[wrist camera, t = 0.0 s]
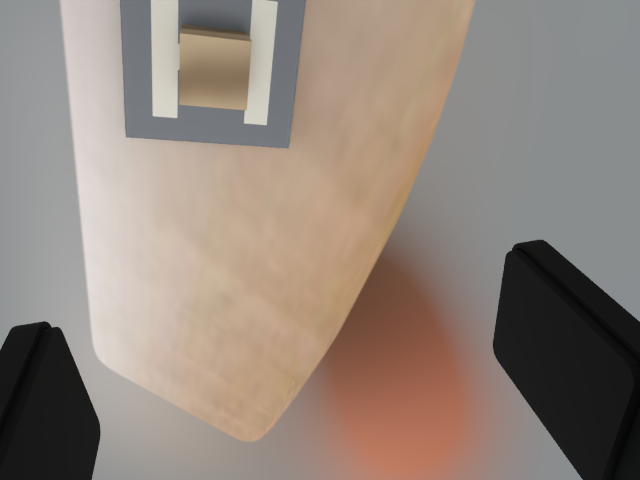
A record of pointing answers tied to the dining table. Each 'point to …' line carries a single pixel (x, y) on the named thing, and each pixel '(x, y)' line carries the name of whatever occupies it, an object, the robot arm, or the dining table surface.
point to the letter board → (164, 68)
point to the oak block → (214, 67)
